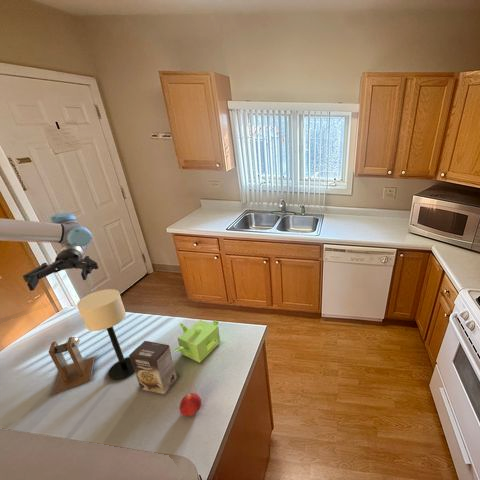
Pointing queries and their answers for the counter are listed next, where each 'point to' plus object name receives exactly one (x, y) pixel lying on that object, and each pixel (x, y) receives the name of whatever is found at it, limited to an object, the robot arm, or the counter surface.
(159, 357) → the coffee box
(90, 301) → the desk lamp
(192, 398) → the red apple
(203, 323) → the cube with spouts
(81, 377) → the wooden globe stand
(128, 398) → the counter surface
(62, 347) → the black pendulum
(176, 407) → the counter surface
